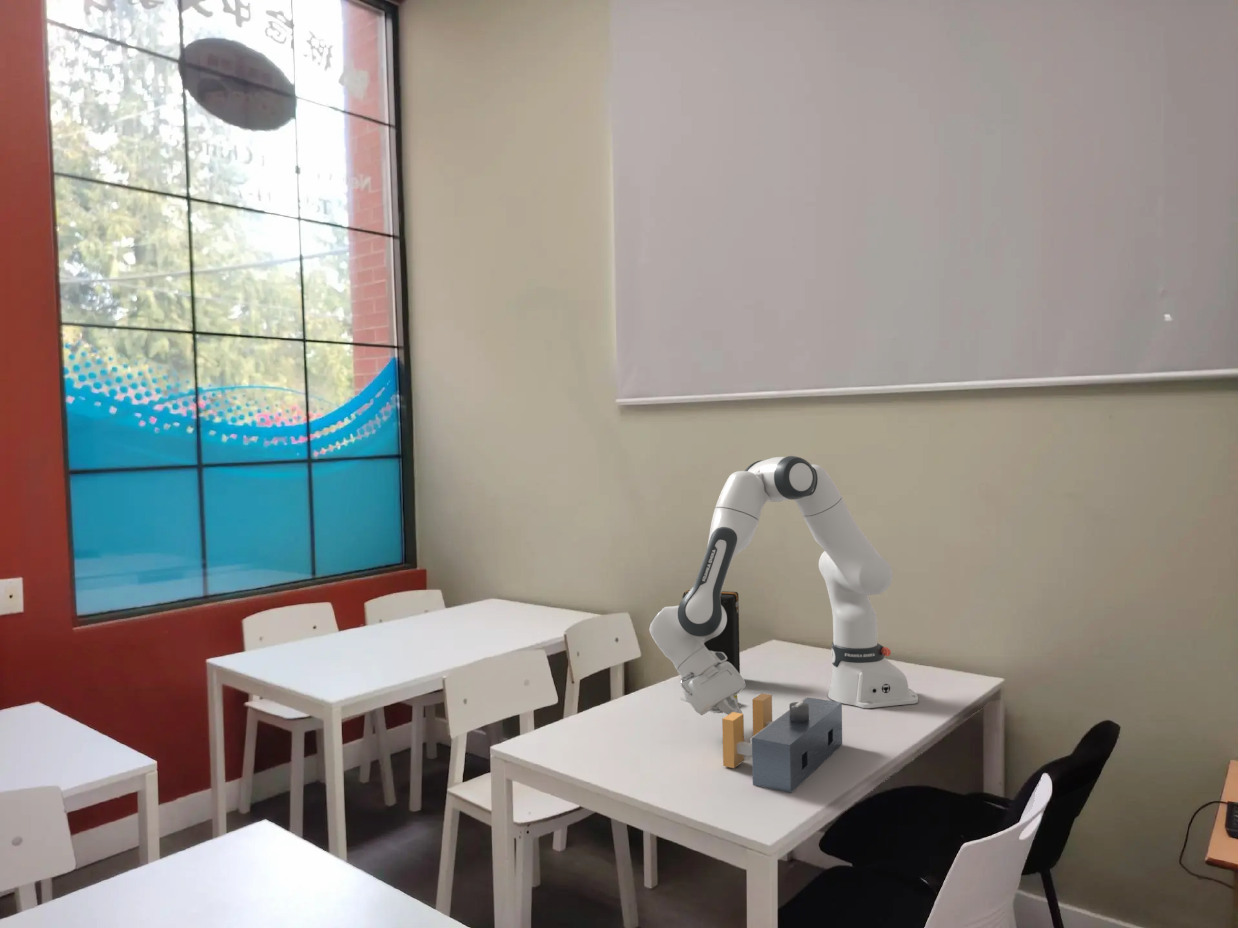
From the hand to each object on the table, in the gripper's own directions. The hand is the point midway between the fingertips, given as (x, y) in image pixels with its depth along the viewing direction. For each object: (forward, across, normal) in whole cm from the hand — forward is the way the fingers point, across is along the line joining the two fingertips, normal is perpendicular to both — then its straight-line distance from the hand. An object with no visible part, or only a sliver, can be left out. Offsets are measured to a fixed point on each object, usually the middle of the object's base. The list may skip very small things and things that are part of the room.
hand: (737, 716), depth 200 cm
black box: (-15, +38, +22) cm, 47 cm away
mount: (+16, -7, -9) cm, 20 cm away
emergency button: (-8, +20, +16) cm, 27 cm away
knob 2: (+12, 0, -5) cm, 13 cm away
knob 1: (+12, -15, -5) cm, 20 cm away
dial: (+9, -8, -16) cm, 20 cm away
